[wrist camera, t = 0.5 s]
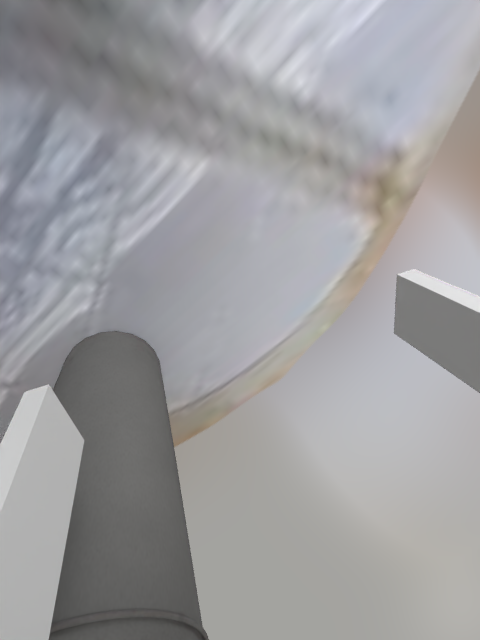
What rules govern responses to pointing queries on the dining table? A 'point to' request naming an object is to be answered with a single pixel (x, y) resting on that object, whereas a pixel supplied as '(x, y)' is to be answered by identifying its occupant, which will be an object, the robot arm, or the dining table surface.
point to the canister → (123, 502)
